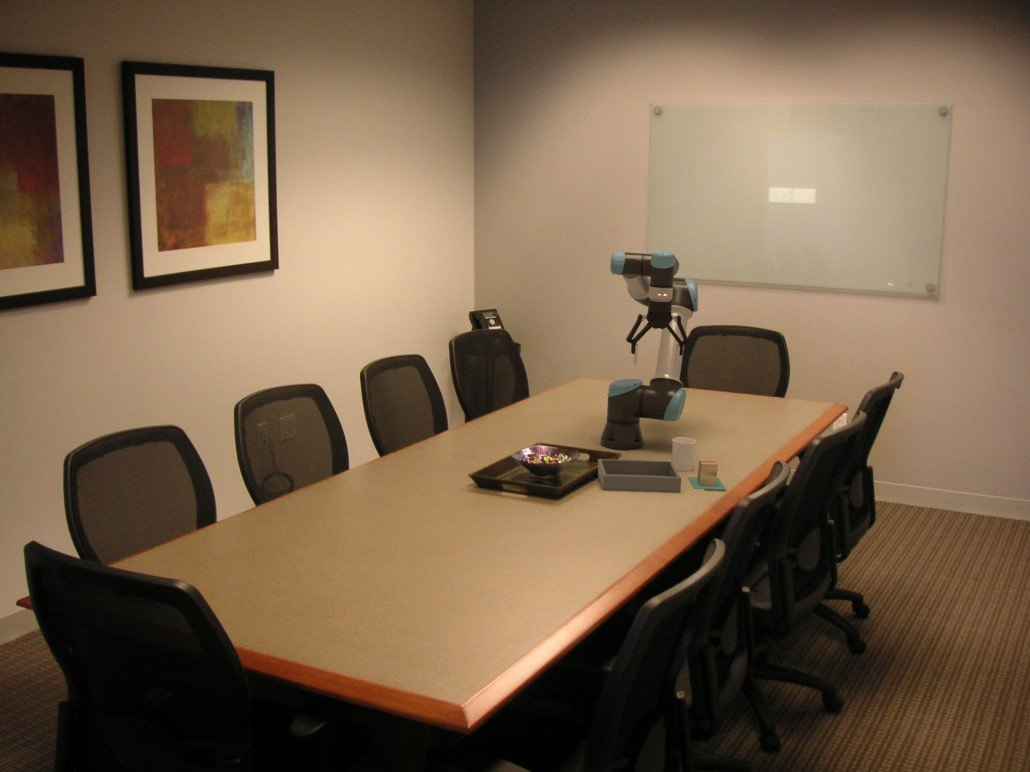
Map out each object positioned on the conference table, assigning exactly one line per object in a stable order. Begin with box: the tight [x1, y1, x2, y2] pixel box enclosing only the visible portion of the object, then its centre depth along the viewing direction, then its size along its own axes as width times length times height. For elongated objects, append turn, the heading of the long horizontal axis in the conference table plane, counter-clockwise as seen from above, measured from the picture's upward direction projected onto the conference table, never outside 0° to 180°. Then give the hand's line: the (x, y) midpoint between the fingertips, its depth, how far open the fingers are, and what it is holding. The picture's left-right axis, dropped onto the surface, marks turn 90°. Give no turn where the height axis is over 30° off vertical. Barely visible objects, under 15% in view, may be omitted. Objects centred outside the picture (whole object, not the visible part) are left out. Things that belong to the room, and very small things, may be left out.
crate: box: [597, 458, 682, 493], centre depth 346 cm, size 18×24×5 cm
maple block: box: [697, 458, 719, 486], centre depth 347 cm, size 5×5×7 cm
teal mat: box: [687, 476, 727, 492], centre depth 348 cm, size 12×10×1 cm
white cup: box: [671, 436, 697, 472], centre depth 362 cm, size 8×8×10 cm
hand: (655, 364), depth 357 cm, fingers open, 13 cm apart
